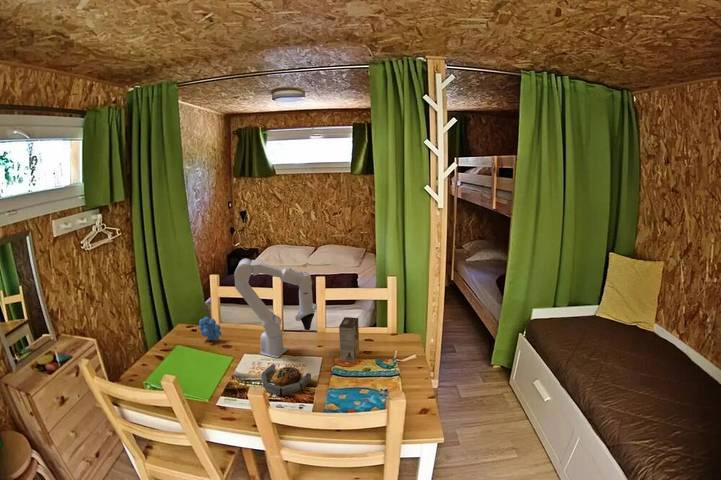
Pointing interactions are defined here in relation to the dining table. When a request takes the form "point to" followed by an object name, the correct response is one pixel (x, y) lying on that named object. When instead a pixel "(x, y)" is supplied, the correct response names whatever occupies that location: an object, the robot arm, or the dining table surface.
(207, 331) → the grapes
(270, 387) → the collar
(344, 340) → the coffee box
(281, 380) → the bread roll
